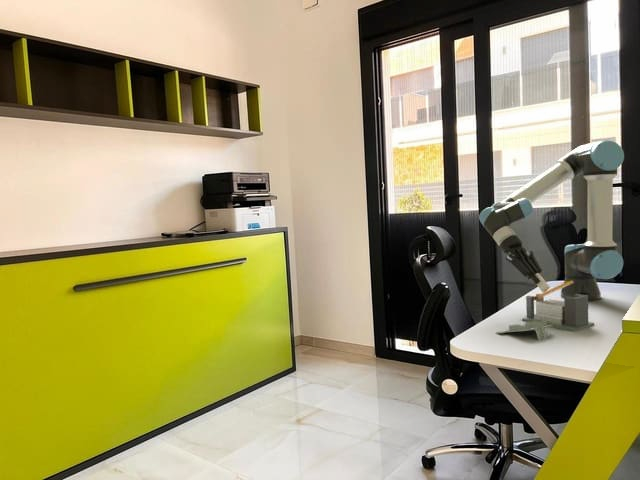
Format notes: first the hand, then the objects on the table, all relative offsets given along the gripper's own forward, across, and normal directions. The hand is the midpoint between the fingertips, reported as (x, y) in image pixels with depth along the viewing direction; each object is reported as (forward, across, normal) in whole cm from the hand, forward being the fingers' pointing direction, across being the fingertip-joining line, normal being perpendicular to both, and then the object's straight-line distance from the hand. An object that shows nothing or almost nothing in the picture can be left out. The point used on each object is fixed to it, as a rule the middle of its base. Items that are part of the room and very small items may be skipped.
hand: (546, 289), depth 171 cm
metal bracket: (+13, +18, -4) cm, 23 cm away
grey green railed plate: (+10, -1, -6) cm, 12 cm away
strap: (+2, -1, +1) cm, 2 cm away
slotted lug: (+15, -1, 0) cm, 15 cm away
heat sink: (+8, -1, -7) cm, 11 cm away
